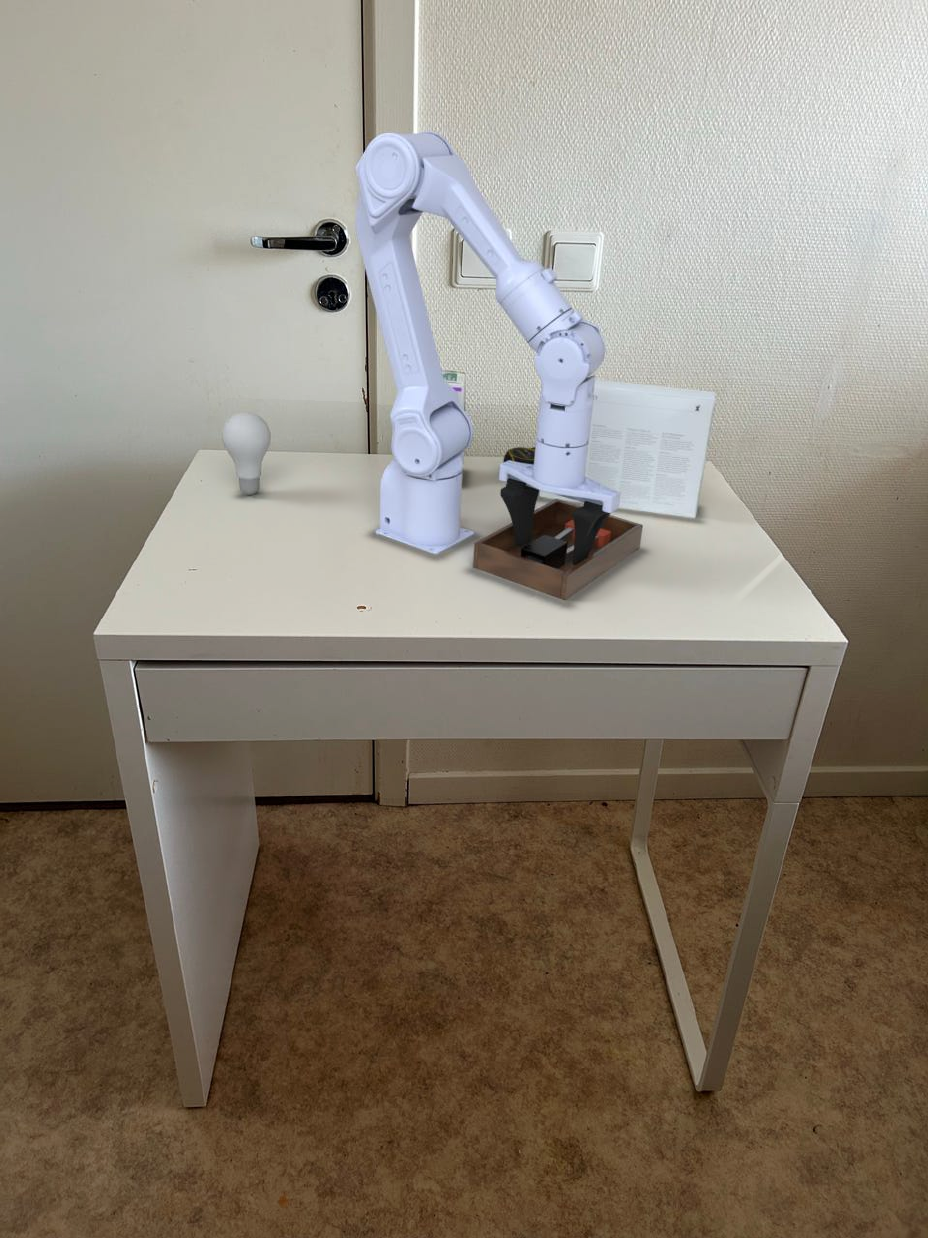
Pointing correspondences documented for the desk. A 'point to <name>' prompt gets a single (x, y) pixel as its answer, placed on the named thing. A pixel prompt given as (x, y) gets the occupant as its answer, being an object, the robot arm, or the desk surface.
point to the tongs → (559, 547)
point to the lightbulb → (247, 447)
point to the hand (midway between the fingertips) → (551, 552)
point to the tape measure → (520, 455)
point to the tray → (550, 520)
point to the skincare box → (649, 445)
